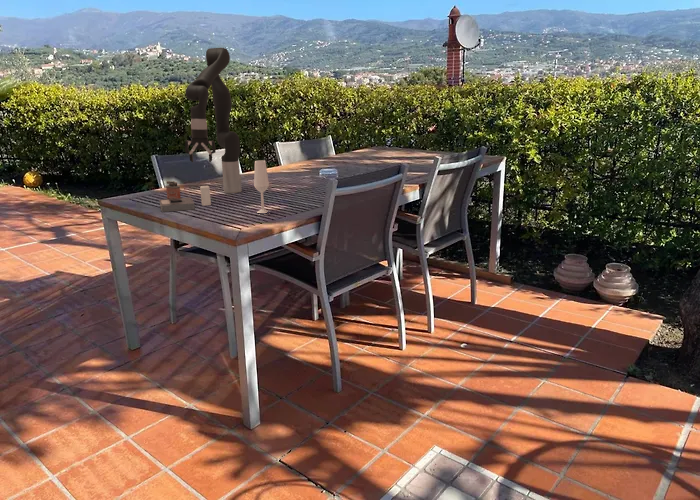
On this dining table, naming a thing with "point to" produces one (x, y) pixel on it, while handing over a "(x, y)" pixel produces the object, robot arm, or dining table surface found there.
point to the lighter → (173, 190)
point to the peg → (205, 195)
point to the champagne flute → (261, 181)
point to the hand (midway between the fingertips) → (201, 161)
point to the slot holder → (177, 204)
